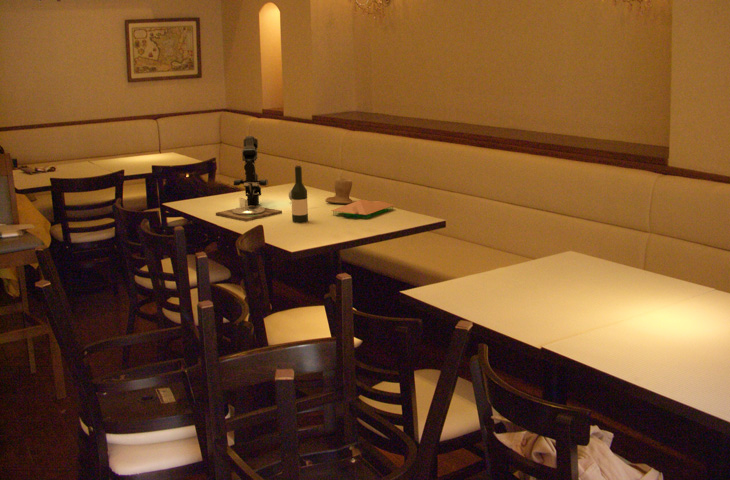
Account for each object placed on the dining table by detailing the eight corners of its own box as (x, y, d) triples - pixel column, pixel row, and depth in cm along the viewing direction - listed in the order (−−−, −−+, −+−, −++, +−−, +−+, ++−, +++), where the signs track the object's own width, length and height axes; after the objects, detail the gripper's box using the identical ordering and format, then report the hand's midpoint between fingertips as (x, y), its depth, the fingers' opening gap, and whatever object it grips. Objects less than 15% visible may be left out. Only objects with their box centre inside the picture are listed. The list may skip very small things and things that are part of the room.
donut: (302, 201, 449) (302, 185, 447) (305, 202, 446) (304, 185, 444) (287, 203, 444) (287, 186, 442) (290, 204, 442) (289, 187, 439)
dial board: (251, 207, 432) (251, 204, 432) (281, 213, 416) (281, 210, 415) (215, 215, 413) (215, 212, 413) (246, 221, 396) (246, 218, 396)
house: (328, 217, 406) (328, 202, 404) (360, 206, 433) (360, 193, 431) (363, 221, 394) (363, 206, 392) (394, 210, 421) (394, 196, 419)
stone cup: (355, 202, 445) (355, 177, 441) (348, 205, 434) (347, 180, 431) (332, 200, 450) (332, 176, 447) (324, 204, 440) (324, 179, 436)
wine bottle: (292, 220, 399) (290, 164, 391) (308, 219, 399) (306, 164, 392) (292, 223, 391) (290, 167, 383) (308, 222, 391) (306, 166, 384)
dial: (226, 210, 418) (225, 199, 417) (255, 206, 428) (255, 196, 426) (241, 216, 400) (240, 205, 399) (271, 212, 409) (271, 202, 408)
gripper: (269, 168, 423) (271, 194, 427) (237, 168, 425) (239, 194, 429) (265, 170, 412) (266, 198, 416) (232, 170, 414) (234, 198, 418)
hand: (251, 197), depth 420 cm, fingers closed
